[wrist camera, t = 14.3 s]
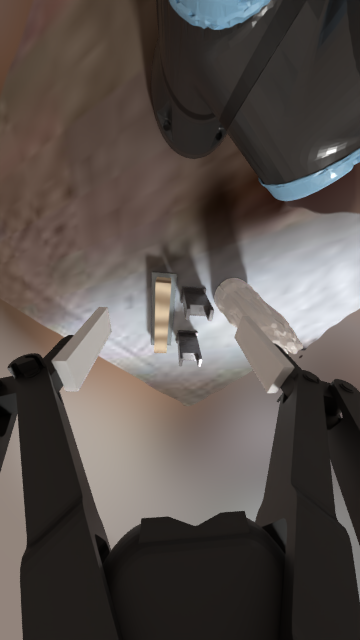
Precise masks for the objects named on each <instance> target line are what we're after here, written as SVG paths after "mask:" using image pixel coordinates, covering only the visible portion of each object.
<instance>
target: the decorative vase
mask: <svg viewBox="0 0 360 640" xmlns="http://www.w3.org/2000/svg"><path fill="white" fill-rule="evenodd" d="M214 302H215V304H216V306H217V307H218V309H219V311H220V312H221V313H223V314H224V315H225V316H226V318H227V320H228V321H229V323H230V324H232V325H233V326H235V327H237V328H238V326H239V323H240V320H241V318H242V316H250V318H251V319H252V320H253V321H254V322H255V323H256V324H257V325H258V327H259V328H260V329H261V330H262V331H263V332H264V333H265V334H266V336H267V337H268V338H269V339H270V340H271V341H272V342H273V343H276V344H277V345H278V346H280V347H281V348H282V349H283V350H284V351H285V352H286V353H287V354H288V352H287V351H286V349H287V350H288V351H289V352H291V353H292V354H297V351H298V350H300V349H303V346H302V343H301V342H300V341H299V339H298V338H297V336H296V334H295V332H294V331H293V329H292V328H291V327H290V326H289V323H288V322H287V321H286V320H285V318H284V317H283V316H282V315H281V314H280V313H278V312H277V311H276V310H274V309H273V308H272V307H271V306H269V305H268V304H267V303H266V302H264V301H263V299H262V298H261V297H260V295H259V294H258V293H257V292H255V291H254V290H253V288H252V287H251V286H250V285H249V284H247V283H246V282H245V281H243V280H241V279H239V278H230V279H226V280H225V281H223V282H222V283H221V284H220V286H218V288H217V290H216V291H215V295H214Z"/></svg>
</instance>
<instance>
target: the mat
mask: <svg viewBox="0 0 360 640" xmlns="http://www.w3.org/2000/svg"><path fill="white" fill-rule="evenodd" d="M157 277H165V278H171V295H170V309H169V323H168V337H167V345H171V337H172V325H173V314H174V303H175V291H176V280H177V274H170V273H159V272H152V343H151V345H154V342H155V284H156V279H157Z"/></svg>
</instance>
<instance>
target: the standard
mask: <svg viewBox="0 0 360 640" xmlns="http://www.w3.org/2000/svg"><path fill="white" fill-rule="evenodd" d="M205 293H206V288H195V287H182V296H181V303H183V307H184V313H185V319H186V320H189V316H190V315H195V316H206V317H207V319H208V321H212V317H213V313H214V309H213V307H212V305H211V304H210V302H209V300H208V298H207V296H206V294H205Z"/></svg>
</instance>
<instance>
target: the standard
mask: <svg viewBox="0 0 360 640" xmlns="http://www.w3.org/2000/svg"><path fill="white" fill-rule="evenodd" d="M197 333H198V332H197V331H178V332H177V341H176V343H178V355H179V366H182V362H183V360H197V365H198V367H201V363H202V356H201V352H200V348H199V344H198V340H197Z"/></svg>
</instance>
